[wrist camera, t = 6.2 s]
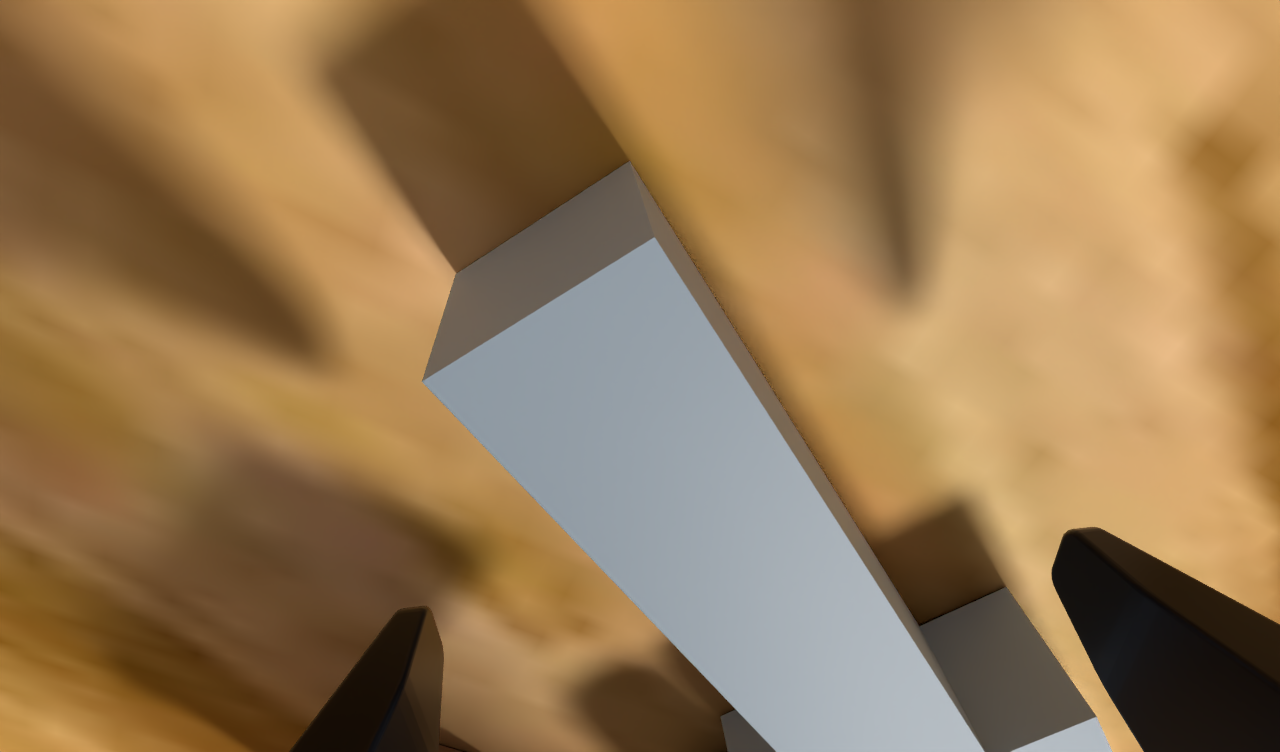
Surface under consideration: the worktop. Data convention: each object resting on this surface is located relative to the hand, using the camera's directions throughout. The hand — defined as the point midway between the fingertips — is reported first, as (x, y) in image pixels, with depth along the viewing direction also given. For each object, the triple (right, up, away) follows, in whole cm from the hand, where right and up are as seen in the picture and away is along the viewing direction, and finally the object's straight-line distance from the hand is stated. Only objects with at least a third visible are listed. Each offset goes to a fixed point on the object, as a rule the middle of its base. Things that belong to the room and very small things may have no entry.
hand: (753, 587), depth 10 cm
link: (+2, -2, +5) cm, 5 cm away
